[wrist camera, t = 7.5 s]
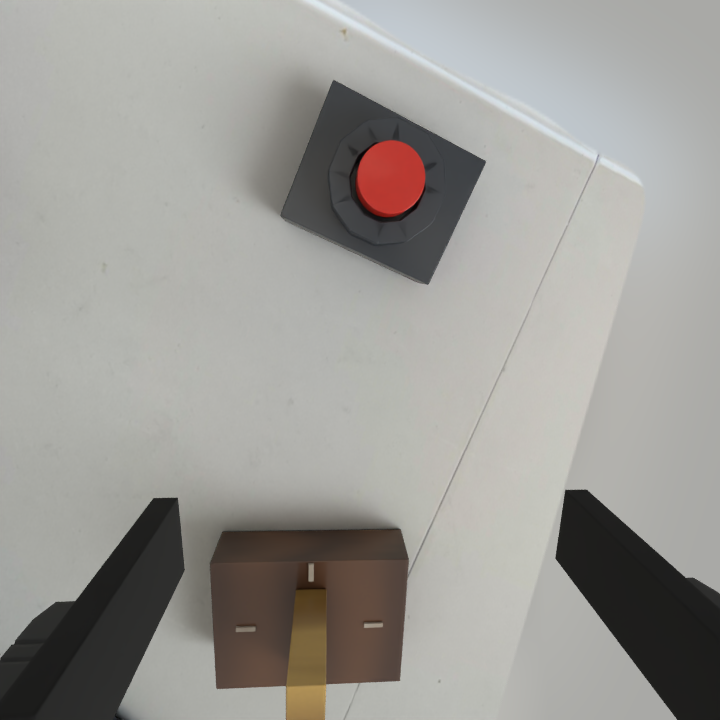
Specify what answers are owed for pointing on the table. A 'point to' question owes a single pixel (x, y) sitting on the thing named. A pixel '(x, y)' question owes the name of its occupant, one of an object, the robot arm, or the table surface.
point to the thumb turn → (307, 657)
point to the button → (390, 178)
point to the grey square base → (339, 197)
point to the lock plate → (277, 597)
